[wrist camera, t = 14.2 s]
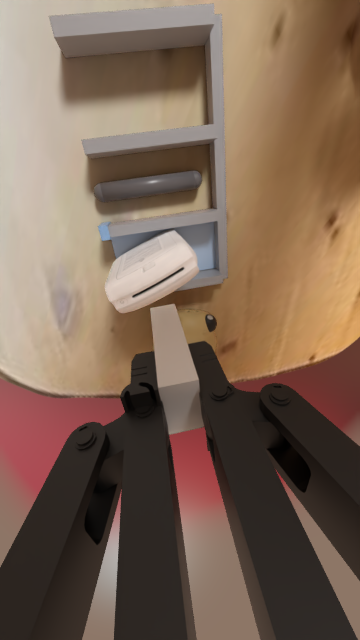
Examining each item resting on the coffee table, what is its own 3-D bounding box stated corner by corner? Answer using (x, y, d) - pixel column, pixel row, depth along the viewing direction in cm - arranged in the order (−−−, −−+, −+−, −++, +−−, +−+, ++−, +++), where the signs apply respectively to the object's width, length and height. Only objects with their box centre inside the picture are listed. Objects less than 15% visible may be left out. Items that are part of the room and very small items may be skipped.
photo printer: (125, 286, 34) (120, 328, 24) (108, 260, 32) (93, 294, 21) (188, 251, 33) (212, 279, 23) (174, 222, 31) (193, 238, 21)
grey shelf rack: (54, 40, 22) (40, 14, 19) (215, 27, 24) (228, 0, 20) (120, 293, 35) (119, 303, 32) (223, 275, 36) (232, 283, 33)
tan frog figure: (214, 295, 38) (239, 328, 28) (204, 356, 43) (222, 400, 34) (152, 293, 36) (157, 328, 27) (150, 357, 41) (153, 404, 32)
